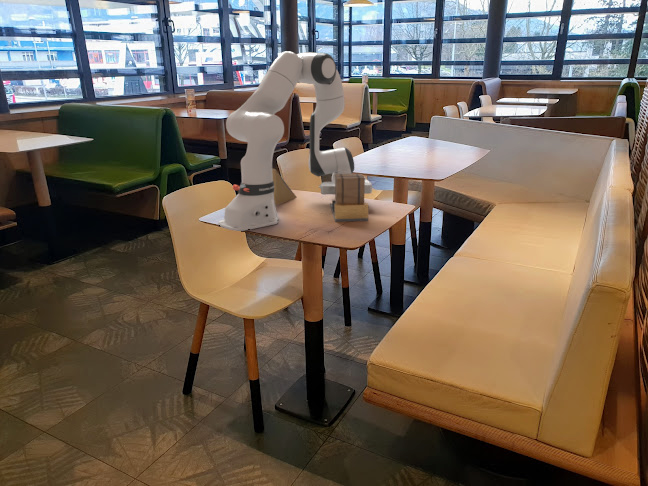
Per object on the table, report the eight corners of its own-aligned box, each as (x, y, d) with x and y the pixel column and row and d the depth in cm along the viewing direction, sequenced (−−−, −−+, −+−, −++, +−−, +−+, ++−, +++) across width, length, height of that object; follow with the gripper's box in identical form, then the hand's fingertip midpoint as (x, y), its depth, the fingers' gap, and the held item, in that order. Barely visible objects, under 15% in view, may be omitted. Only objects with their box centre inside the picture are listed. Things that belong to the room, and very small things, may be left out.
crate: (335, 205, 188) (335, 174, 184) (361, 204, 188) (361, 173, 184) (337, 210, 180) (337, 178, 176) (364, 210, 181) (364, 177, 177)
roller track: (330, 205, 199) (330, 191, 197) (359, 205, 200) (360, 190, 198) (335, 221, 178) (335, 205, 176) (367, 220, 179) (368, 204, 177)
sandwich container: (297, 197, 214) (297, 163, 209) (277, 205, 201) (275, 169, 196) (281, 195, 218) (280, 161, 213) (260, 202, 205) (258, 167, 200)
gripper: (318, 177, 198) (320, 185, 185) (369, 176, 199) (374, 183, 186) (318, 192, 200) (320, 201, 187) (368, 191, 201) (374, 200, 188)
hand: (348, 192), depth 186 cm, fingers closed, pressing on crate
